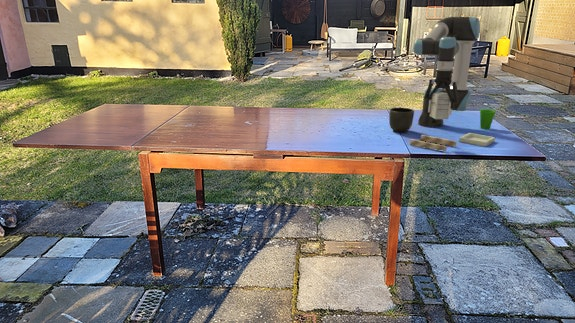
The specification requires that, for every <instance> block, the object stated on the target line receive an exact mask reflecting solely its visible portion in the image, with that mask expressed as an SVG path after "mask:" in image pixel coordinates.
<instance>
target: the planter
mask: <svg viewBox="0 0 575 323" xmlns="http://www.w3.org/2000/svg"><path fill="white" fill-rule="evenodd" d="M414 115H415V110H414V109H413V108H410V107H391V108H390V109H389V115H388V116H389V118H388V122H389V127H390V129H392V132H394V133H398V134H399V133H401V134H403V133H404V134H405V133H407V132H408V131H409V130H410V129H411V128H412V125H413V120H414Z"/></svg>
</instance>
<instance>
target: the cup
mask: <svg viewBox="0 0 575 323" xmlns="http://www.w3.org/2000/svg"><path fill="white" fill-rule="evenodd" d="M496 113H497V111H496V110H493V109H485V108H484V109H479V118H480V119H479V123H480V129H482V130H486V131H488V130H490V129H491V125H492V124H493V120H494V117H495V114H496Z"/></svg>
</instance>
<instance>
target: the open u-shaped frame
mask: <svg viewBox="0 0 575 323" xmlns="http://www.w3.org/2000/svg"><path fill="white" fill-rule="evenodd" d="M425 141H426V142H425ZM430 142H431V143H430ZM409 143H410V144H409V145H410V146H411V145H412V147H416V146H418V147H417V148H421V147H425V148H424V149H426V148H431V149H437V150H443V151H446V152H447V148H448V147H450V146H453V147H452V148H456V147H457V140H456V141H455V140H451V139H447V138H441V137H436V136H435V137H434V136H430V135H425V134H421V136H420V139H412V138H411V139H410V141H409ZM435 143H437V144H435ZM440 144H443V145H440ZM445 145H448V146H445ZM455 146H456V147H455Z"/></svg>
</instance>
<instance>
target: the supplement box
mask: <svg viewBox="0 0 575 323" xmlns="http://www.w3.org/2000/svg"><path fill="white" fill-rule="evenodd" d="M449 102H451V101H450V99H449V96H448V94H447V93H433V95H432V100H431V109H430V116H431V117H433V118H434V119H443V120H449V117H450V115H448V108H449Z"/></svg>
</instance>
